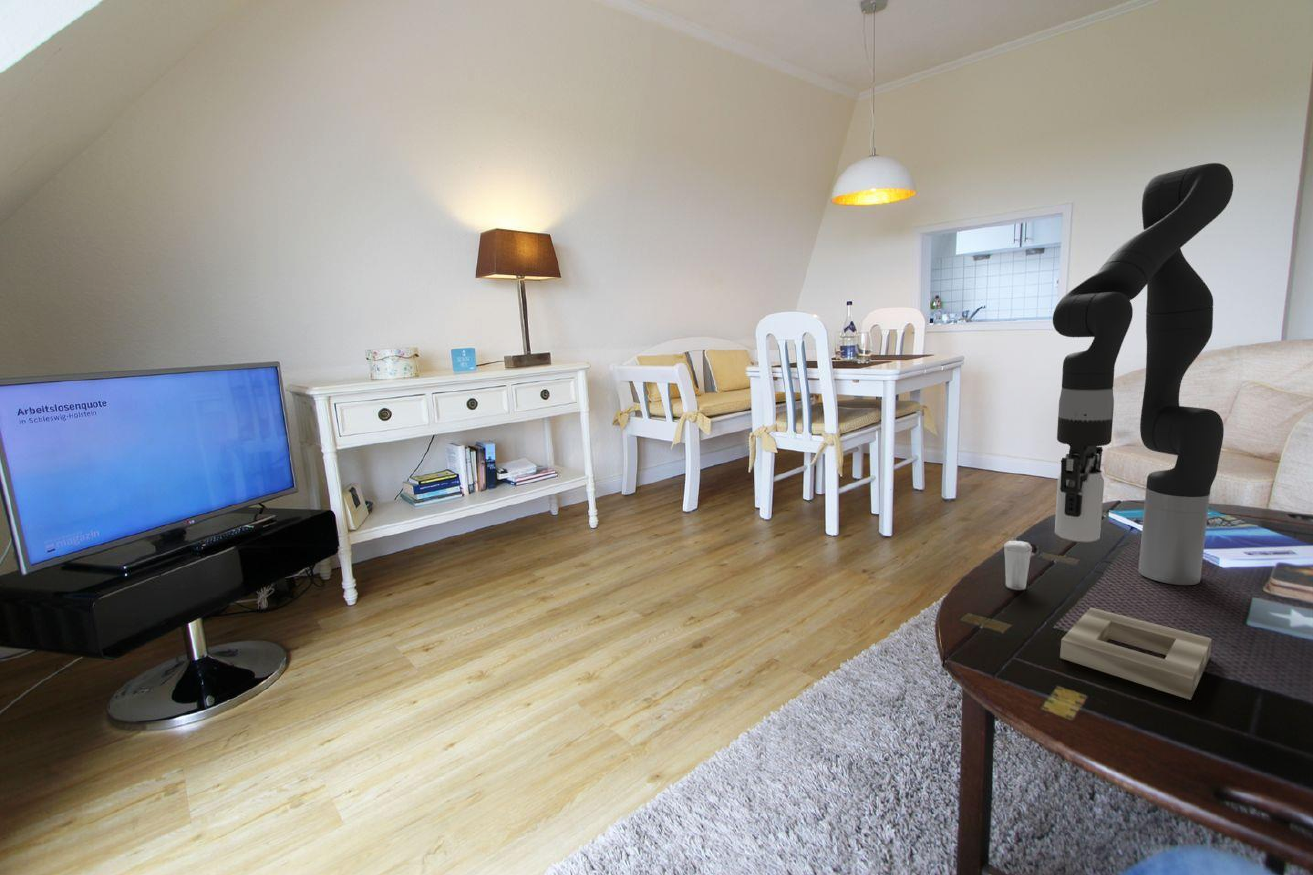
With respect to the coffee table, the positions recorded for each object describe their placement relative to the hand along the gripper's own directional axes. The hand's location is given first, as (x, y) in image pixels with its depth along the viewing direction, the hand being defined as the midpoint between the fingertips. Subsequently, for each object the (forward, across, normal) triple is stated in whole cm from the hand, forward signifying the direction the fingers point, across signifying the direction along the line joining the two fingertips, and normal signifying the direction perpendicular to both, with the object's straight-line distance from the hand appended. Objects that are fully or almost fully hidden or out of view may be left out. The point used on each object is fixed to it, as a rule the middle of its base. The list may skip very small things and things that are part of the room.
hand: (1078, 510), depth 104 cm
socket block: (+18, -13, -11) cm, 25 cm away
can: (+5, 0, 0) cm, 5 cm away
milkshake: (+18, +3, +10) cm, 21 cm away
